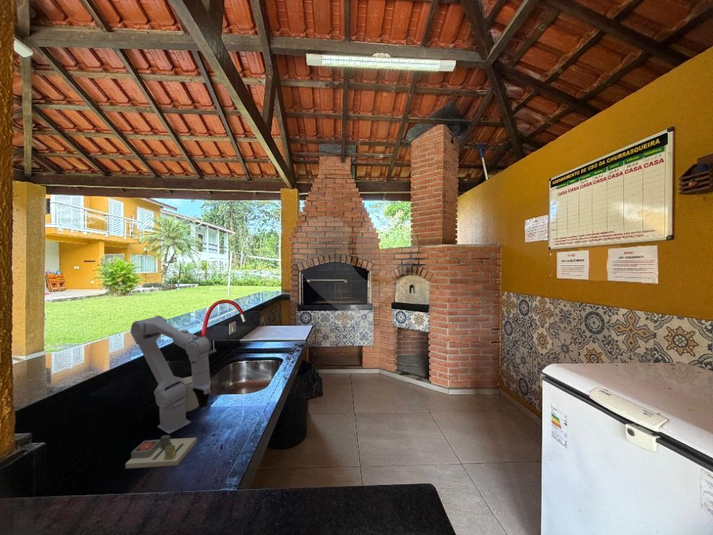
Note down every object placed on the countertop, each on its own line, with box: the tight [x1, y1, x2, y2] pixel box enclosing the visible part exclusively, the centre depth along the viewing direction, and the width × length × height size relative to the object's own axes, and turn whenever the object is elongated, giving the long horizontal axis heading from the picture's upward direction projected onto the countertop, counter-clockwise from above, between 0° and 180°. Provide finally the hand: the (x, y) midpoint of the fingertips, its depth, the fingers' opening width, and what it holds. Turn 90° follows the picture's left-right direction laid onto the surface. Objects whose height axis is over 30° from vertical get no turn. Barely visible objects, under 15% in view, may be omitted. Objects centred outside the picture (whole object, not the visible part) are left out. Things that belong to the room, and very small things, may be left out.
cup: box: [181, 375, 200, 413], centre depth 121 cm, size 8×8×12 cm
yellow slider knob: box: [164, 445, 177, 459], centre depth 88 cm, size 3×2×3 cm, turn 91°
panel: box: [124, 437, 198, 469], centre depth 92 cm, size 16×11×4 cm
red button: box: [140, 442, 153, 451], centre depth 91 cm, size 4×4×2 cm
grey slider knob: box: [160, 434, 172, 448], centre depth 93 cm, size 3×2×3 cm, turn 91°
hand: (203, 406), depth 103 cm, fingers closed
